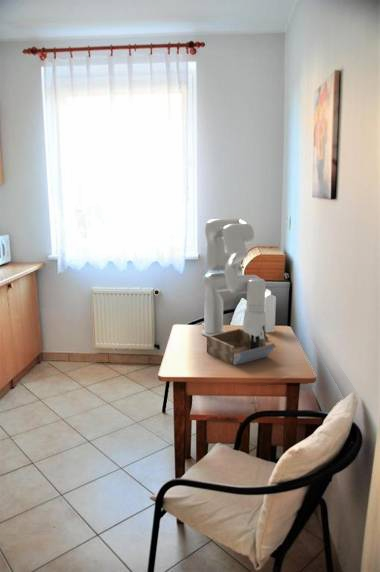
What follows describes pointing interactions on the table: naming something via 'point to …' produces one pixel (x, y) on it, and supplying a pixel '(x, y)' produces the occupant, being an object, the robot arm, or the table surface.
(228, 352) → the crate
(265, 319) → the robot arm
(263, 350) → the panel
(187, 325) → the table surface
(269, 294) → the milk
